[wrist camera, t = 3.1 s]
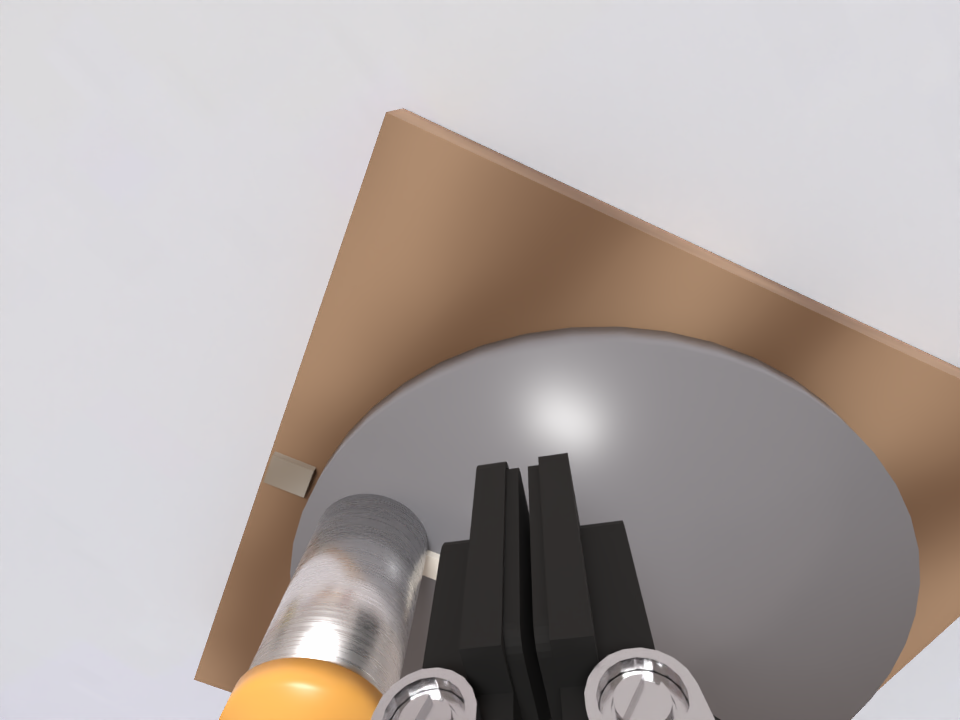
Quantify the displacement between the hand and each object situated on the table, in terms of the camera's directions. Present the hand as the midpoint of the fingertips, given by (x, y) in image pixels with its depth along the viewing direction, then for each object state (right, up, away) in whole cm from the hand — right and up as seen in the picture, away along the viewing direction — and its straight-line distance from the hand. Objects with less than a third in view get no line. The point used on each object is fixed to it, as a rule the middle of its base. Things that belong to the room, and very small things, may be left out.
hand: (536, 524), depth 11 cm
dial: (+2, -4, +7) cm, 8 cm away
